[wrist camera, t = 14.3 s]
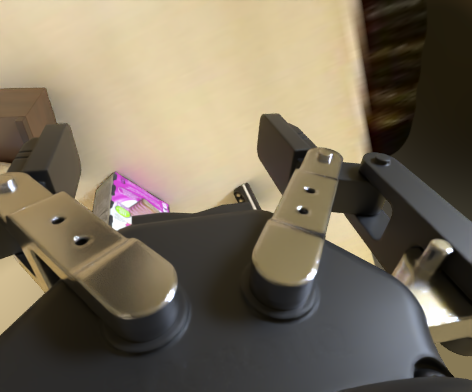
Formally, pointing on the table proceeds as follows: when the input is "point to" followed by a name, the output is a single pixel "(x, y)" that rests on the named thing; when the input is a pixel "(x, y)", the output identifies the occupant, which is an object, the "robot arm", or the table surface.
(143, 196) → the candy bar box
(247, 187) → the black battery charger
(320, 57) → the table surface
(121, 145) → the table surface
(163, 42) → the table surface
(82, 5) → the table surface
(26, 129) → the shelf
